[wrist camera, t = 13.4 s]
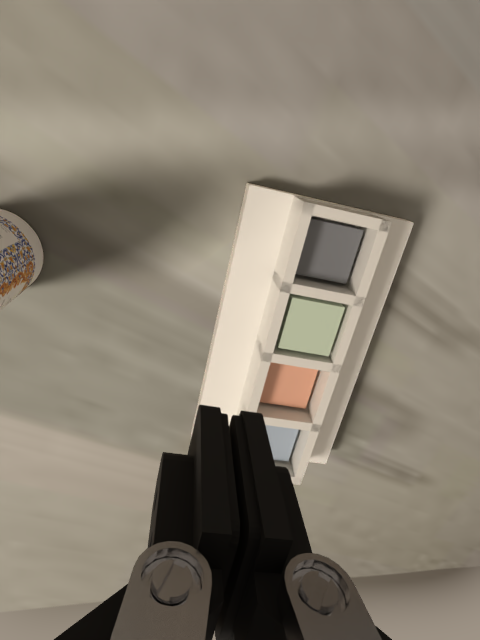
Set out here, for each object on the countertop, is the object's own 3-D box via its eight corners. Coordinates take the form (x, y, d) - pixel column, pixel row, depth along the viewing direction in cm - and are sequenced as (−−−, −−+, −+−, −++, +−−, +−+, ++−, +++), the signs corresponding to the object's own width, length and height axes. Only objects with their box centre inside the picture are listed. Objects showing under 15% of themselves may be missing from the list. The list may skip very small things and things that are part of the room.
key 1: (304, 215, 34) (309, 218, 32) (355, 226, 35) (363, 230, 33) (289, 267, 36) (294, 273, 34) (339, 277, 36) (346, 284, 35)
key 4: (252, 405, 40) (254, 416, 39) (296, 412, 41) (300, 423, 39) (241, 443, 42) (243, 455, 40) (284, 449, 43) (288, 461, 41)
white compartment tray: (246, 182, 35) (255, 188, 30) (403, 219, 37) (436, 230, 32) (190, 434, 43) (190, 473, 38) (320, 451, 46) (336, 489, 41)
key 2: (287, 290, 35) (292, 297, 33) (338, 300, 36) (345, 307, 34) (274, 338, 37) (278, 347, 35) (322, 346, 37) (328, 356, 36)
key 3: (267, 349, 38) (270, 358, 37) (314, 356, 39) (319, 366, 37) (256, 391, 40) (258, 401, 38) (301, 397, 40) (305, 408, 39)
